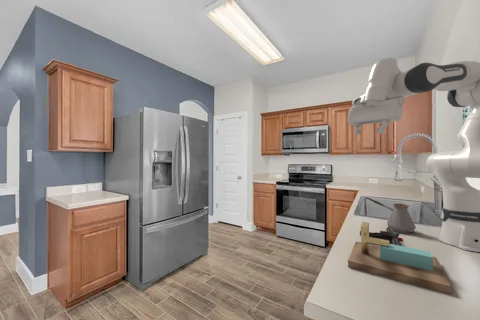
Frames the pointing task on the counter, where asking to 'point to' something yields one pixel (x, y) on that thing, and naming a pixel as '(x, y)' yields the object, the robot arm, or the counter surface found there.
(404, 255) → the cover
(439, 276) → the base
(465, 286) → the counter surface
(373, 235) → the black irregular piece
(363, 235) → the t key
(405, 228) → the coffee pot
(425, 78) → the robot arm
